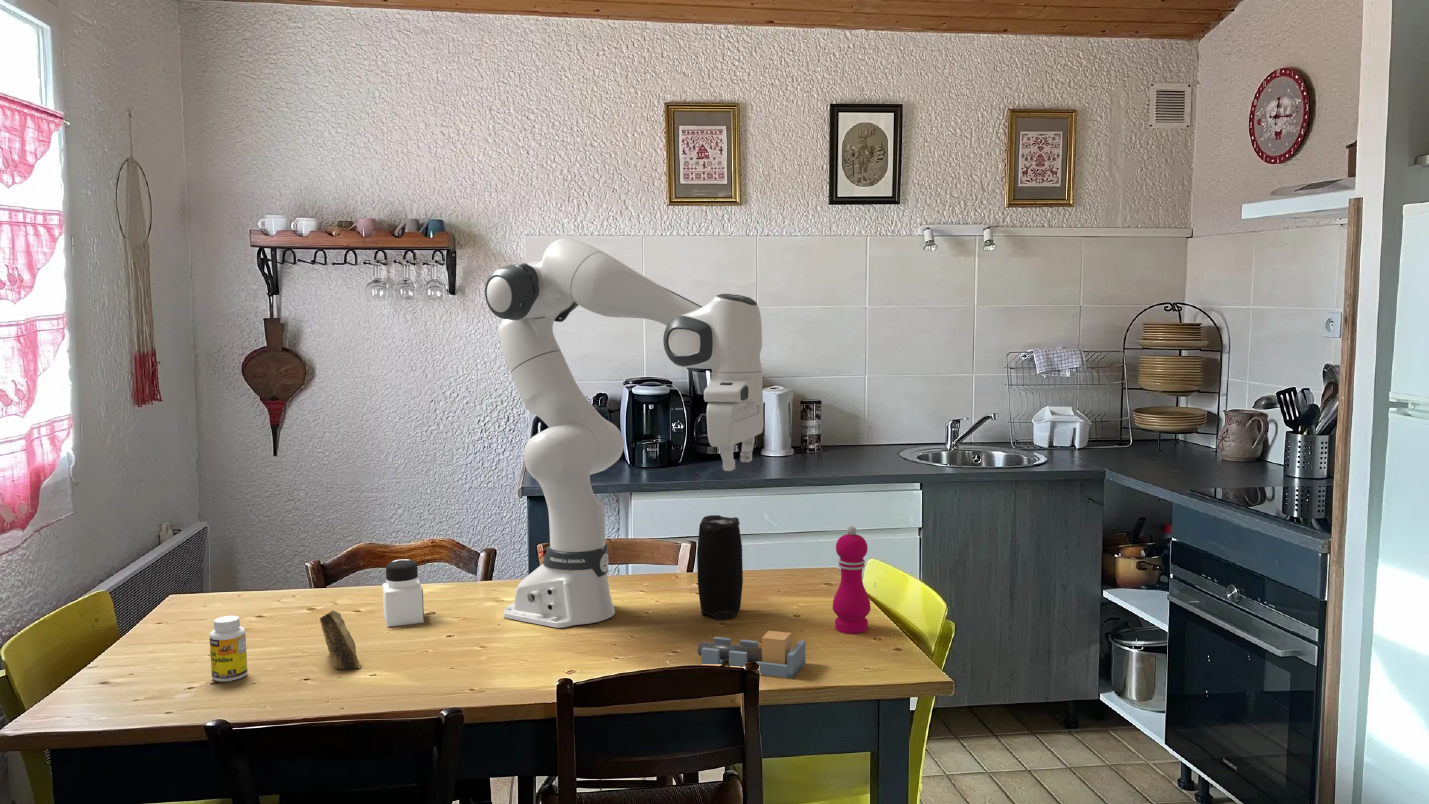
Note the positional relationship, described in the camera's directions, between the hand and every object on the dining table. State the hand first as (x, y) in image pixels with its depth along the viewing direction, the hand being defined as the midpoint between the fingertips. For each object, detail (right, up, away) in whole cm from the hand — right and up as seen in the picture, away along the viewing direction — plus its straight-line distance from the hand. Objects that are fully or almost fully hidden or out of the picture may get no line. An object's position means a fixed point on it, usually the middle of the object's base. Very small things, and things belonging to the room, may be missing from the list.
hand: (737, 465), depth 186 cm
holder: (+7, -35, -4) cm, 36 cm away
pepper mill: (+22, -33, +17) cm, 43 cm away
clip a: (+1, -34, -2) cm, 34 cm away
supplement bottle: (-87, -36, -5) cm, 94 cm away
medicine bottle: (-66, -33, +25) cm, 78 cm away
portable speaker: (-3, -32, +27) cm, 42 cm away
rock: (-70, -35, +3) cm, 78 cm away
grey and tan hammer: (+1, -34, -2) cm, 34 cm away
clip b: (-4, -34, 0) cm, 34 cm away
